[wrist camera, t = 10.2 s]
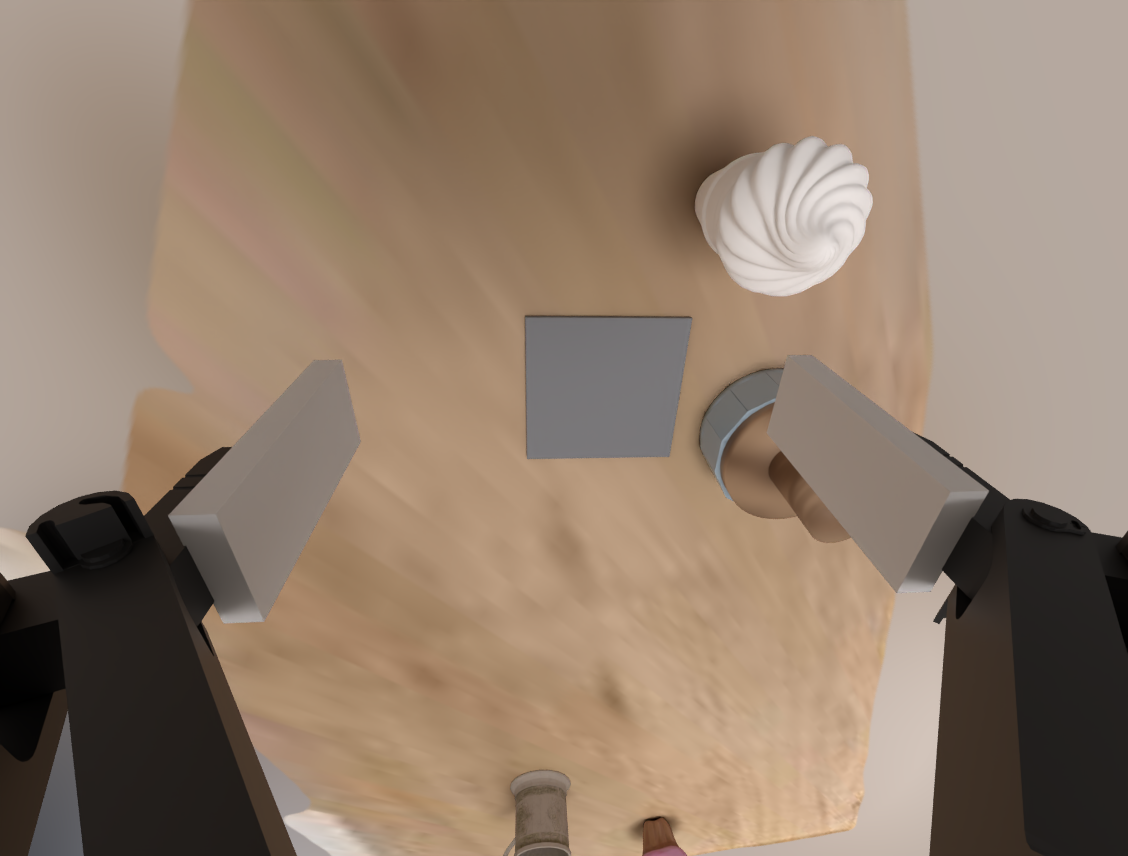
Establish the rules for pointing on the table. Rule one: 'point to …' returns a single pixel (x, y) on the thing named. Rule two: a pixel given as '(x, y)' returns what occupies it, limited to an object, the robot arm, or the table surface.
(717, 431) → the bowl
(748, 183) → the soft serve ice cream cone
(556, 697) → the table surface
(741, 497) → the lid
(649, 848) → the cupcake
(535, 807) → the mug
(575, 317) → the mat
